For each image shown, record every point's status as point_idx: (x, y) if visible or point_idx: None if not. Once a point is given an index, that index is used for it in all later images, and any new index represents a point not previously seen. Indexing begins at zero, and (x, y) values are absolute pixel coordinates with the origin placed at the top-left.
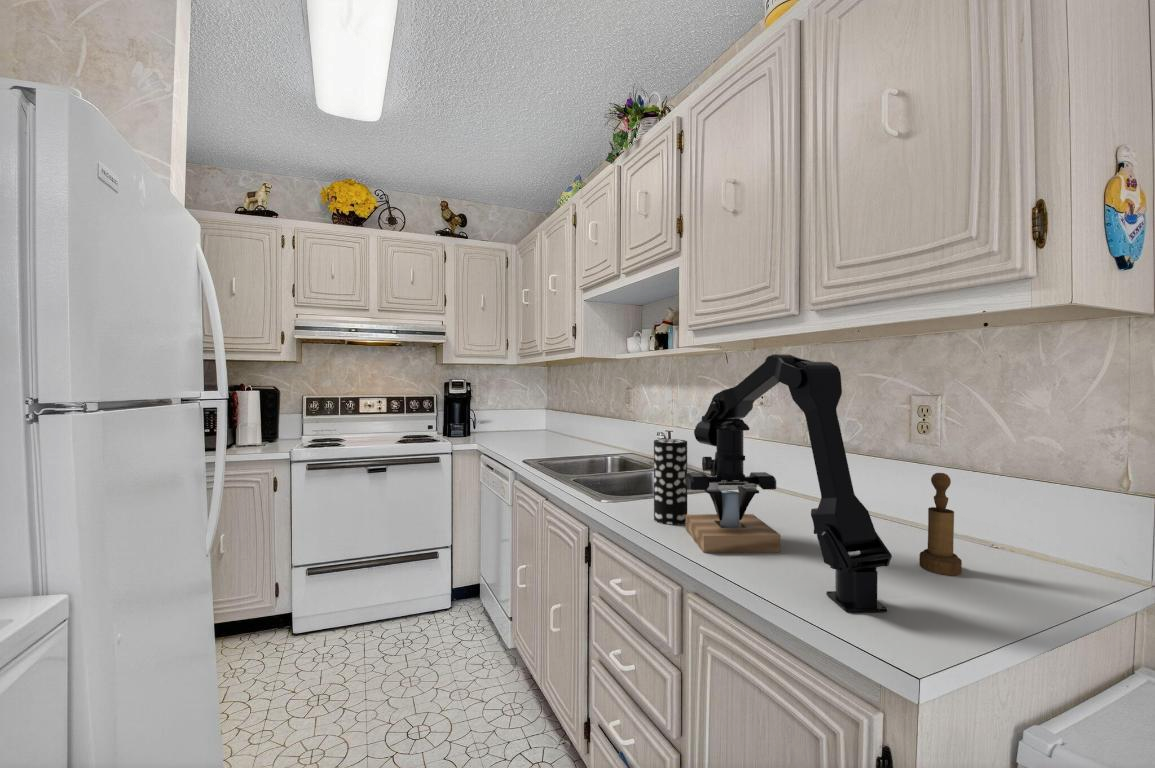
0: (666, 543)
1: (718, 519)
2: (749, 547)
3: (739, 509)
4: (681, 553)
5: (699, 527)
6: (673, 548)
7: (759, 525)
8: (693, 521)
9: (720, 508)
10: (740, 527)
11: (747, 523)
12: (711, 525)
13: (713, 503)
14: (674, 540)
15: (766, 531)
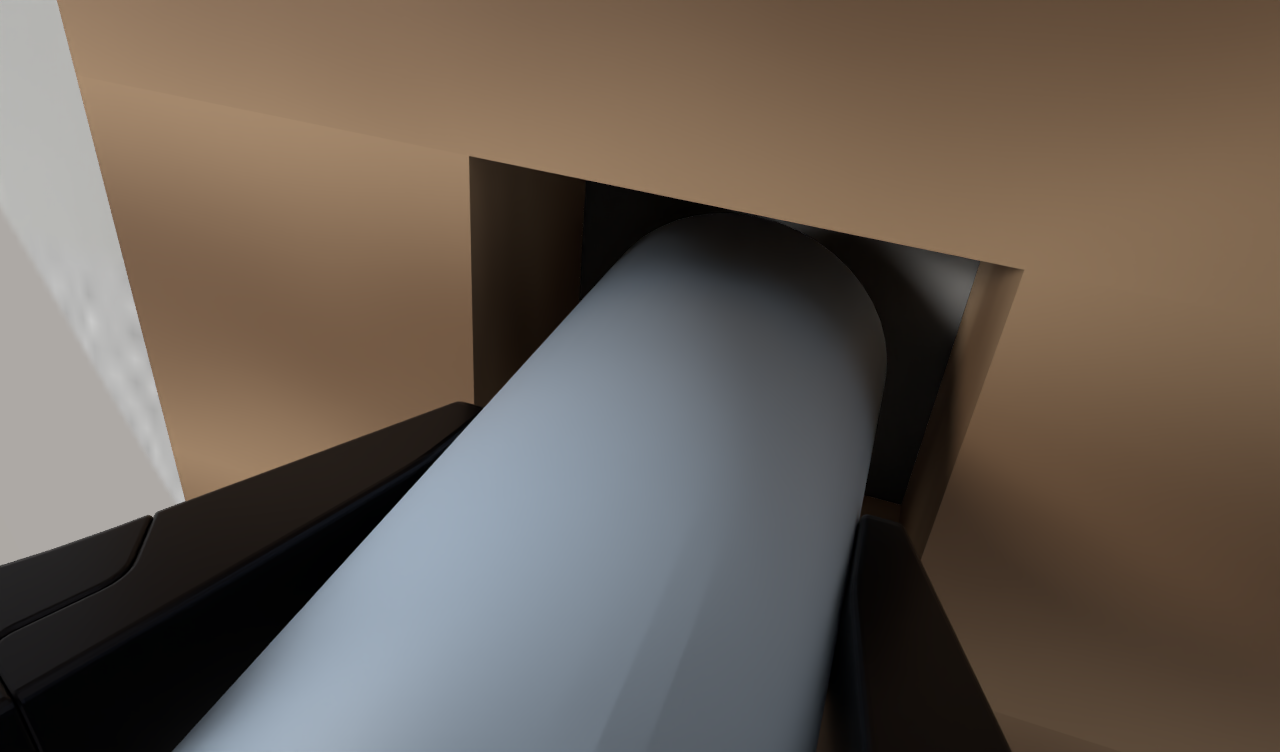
0: (30, 229)
1: (591, 96)
2: None
3: (827, 744)
4: (173, 498)
5: (199, 436)
6: (105, 376)
7: (1225, 682)
8: (117, 127)
9: None
10: (974, 355)
11: (1074, 512)
12: (369, 407)
13: (135, 524)
14: (92, 152)
15: None
